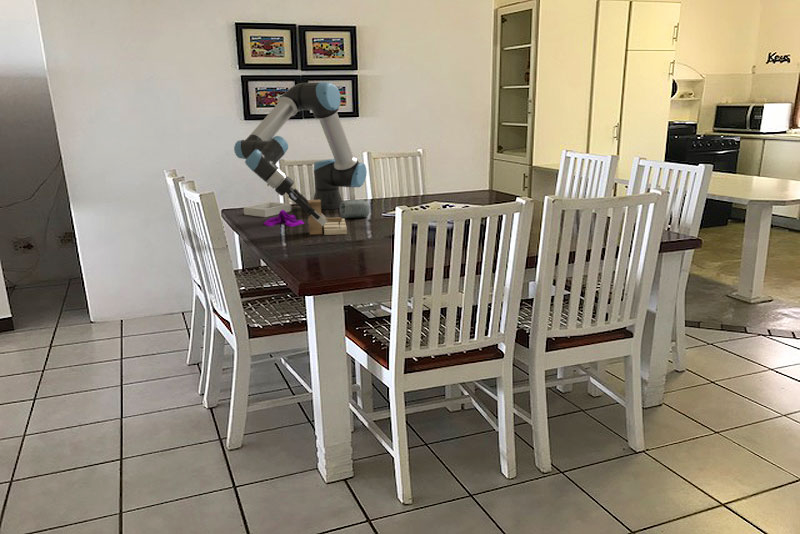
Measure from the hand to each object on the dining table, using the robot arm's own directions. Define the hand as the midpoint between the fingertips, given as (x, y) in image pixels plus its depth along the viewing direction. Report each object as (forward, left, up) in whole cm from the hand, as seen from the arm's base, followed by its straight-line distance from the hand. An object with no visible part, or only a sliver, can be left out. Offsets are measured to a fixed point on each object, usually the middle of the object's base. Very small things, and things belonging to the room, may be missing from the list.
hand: (324, 222), depth 253 cm
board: (-8, -1, -4) cm, 9 cm away
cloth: (-8, -30, -5) cm, 32 cm away
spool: (-31, -9, -5) cm, 33 cm away
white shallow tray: (-20, -53, -4) cm, 57 cm away
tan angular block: (0, 0, -4) cm, 4 cm away
